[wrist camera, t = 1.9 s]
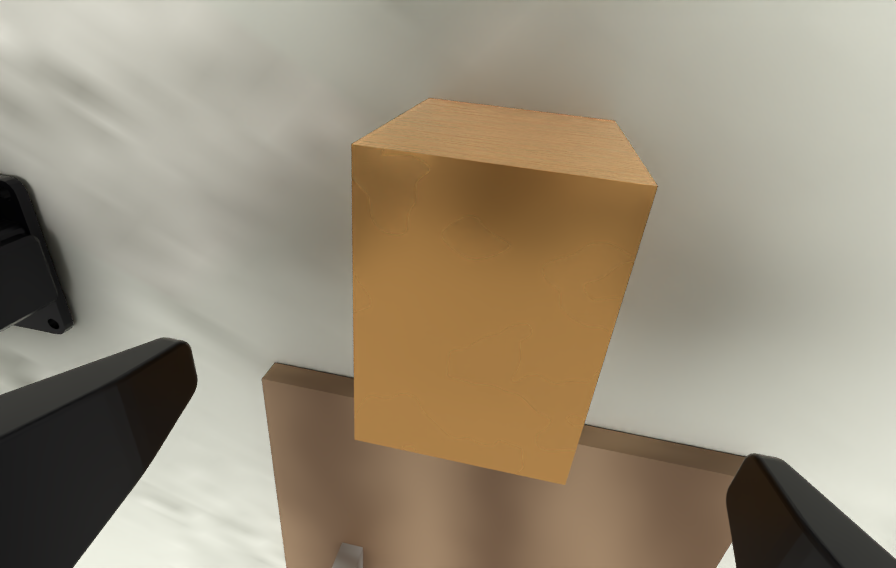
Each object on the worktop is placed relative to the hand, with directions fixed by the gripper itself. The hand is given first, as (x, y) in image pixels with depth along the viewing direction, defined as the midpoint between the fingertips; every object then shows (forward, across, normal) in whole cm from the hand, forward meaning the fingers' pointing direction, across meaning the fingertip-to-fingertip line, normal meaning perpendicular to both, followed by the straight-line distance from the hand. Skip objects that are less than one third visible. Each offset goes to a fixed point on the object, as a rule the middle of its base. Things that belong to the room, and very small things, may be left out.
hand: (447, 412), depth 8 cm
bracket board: (+8, -1, +18) cm, 20 cm away
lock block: (+8, 0, 0) cm, 8 cm away
